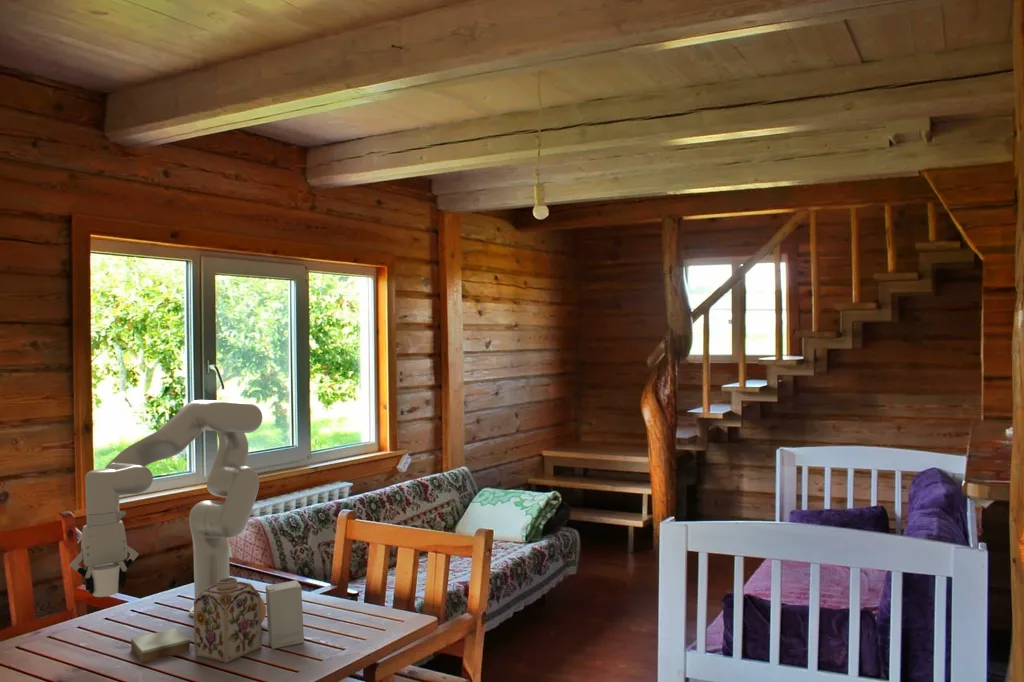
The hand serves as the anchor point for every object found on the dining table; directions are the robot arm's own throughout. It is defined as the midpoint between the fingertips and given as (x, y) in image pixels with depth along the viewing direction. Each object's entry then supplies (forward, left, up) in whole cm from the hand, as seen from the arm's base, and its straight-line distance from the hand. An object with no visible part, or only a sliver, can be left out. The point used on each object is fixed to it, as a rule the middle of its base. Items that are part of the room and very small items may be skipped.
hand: (105, 588), depth 206 cm
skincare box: (-36, +26, -16) cm, 47 cm away
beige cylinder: (0, 0, -1) cm, 1 cm away
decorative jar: (-23, +22, -16) cm, 36 cm away
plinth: (-10, +10, -15) cm, 21 cm away
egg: (-34, +9, -16) cm, 39 cm away
